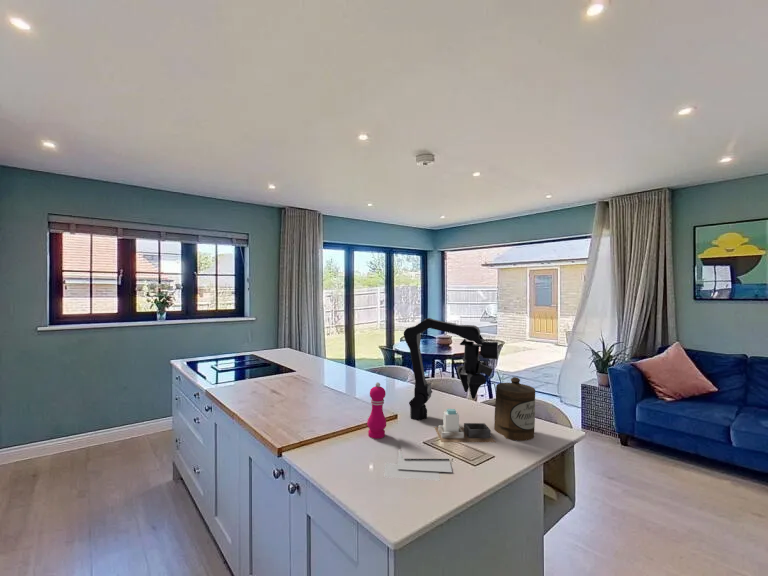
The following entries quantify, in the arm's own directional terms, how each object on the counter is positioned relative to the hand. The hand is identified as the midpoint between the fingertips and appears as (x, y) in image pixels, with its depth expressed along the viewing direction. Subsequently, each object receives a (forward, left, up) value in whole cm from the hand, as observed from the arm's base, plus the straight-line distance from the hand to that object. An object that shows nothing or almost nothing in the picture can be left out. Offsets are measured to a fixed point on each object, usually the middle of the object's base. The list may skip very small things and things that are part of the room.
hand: (469, 395), depth 151 cm
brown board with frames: (-5, -10, -13) cm, 17 cm away
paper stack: (-28, -34, -14) cm, 46 cm away
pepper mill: (-38, -9, -13) cm, 41 cm away
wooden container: (+16, -6, -13) cm, 22 cm away
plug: (-10, -10, -12) cm, 18 cm away
